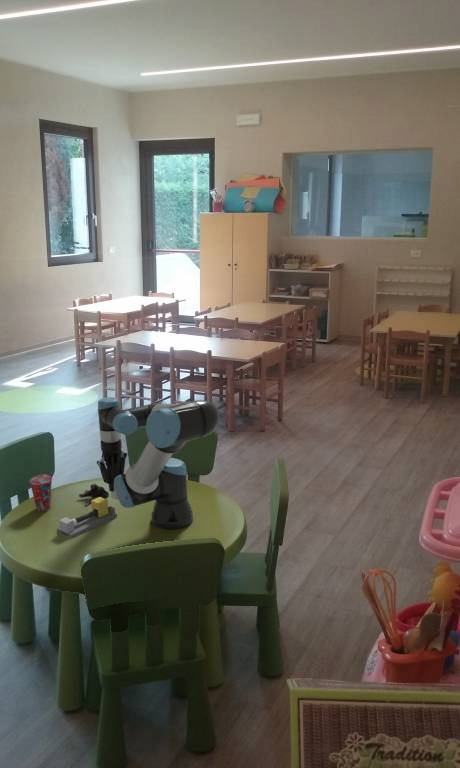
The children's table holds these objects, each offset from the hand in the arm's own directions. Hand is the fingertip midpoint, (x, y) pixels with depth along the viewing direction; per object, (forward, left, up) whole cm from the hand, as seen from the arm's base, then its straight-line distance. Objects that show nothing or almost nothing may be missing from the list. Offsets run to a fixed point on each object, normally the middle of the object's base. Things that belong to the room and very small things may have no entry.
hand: (115, 498), depth 260 cm
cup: (+24, +16, -5) cm, 29 cm away
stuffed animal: (+16, -2, -6) cm, 17 cm away
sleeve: (0, +7, -4) cm, 8 cm away
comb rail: (0, +13, -5) cm, 14 cm away
